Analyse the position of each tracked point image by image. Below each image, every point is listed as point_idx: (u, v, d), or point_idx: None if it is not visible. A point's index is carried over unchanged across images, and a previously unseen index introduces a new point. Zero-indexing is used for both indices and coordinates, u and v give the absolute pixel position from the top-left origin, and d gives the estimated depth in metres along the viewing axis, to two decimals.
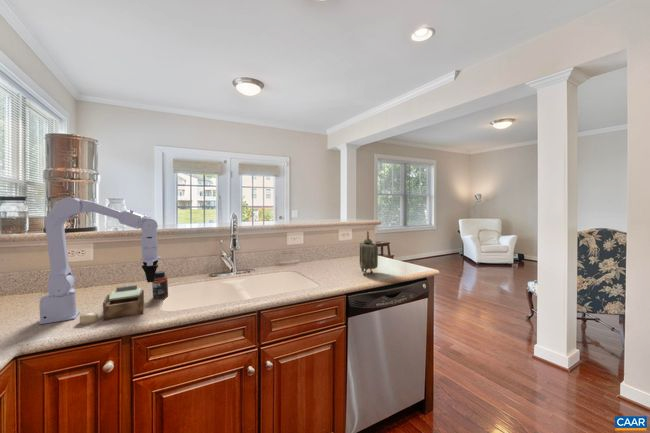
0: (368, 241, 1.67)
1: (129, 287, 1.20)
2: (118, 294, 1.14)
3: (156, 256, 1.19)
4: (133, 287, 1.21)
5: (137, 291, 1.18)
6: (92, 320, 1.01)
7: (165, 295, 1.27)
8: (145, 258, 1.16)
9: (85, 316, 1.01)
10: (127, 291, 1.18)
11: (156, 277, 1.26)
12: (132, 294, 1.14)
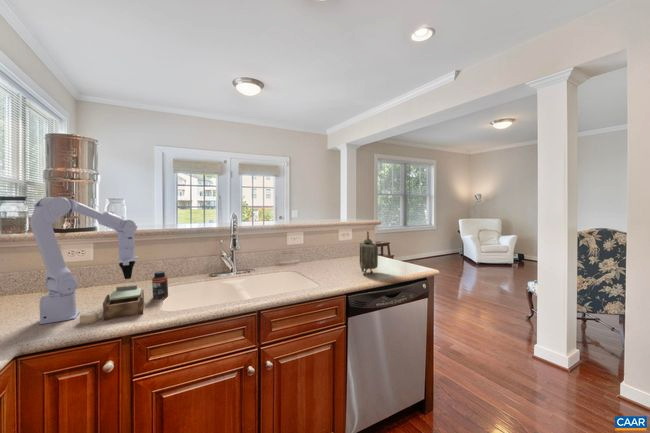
0: (368, 241, 1.67)
1: (129, 287, 1.20)
2: (118, 294, 1.14)
3: (133, 256, 1.24)
4: (133, 287, 1.21)
5: (137, 291, 1.18)
6: (92, 320, 1.01)
7: (165, 295, 1.27)
8: (122, 258, 1.22)
9: (85, 316, 1.01)
10: (127, 291, 1.18)
11: (156, 277, 1.26)
12: (132, 294, 1.14)
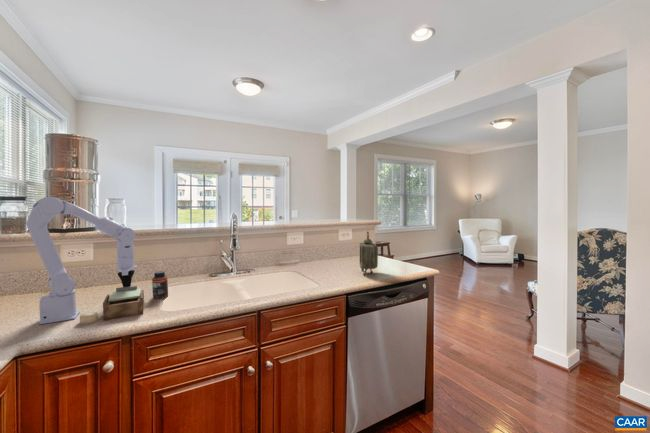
0: (368, 241, 1.67)
1: (129, 288, 1.19)
2: (118, 295, 1.13)
3: (132, 265, 1.20)
4: (133, 288, 1.20)
5: (137, 292, 1.17)
6: (92, 320, 1.01)
7: (165, 295, 1.27)
8: (121, 267, 1.17)
9: (85, 316, 1.01)
10: (127, 292, 1.17)
11: (156, 277, 1.26)
12: (132, 295, 1.13)
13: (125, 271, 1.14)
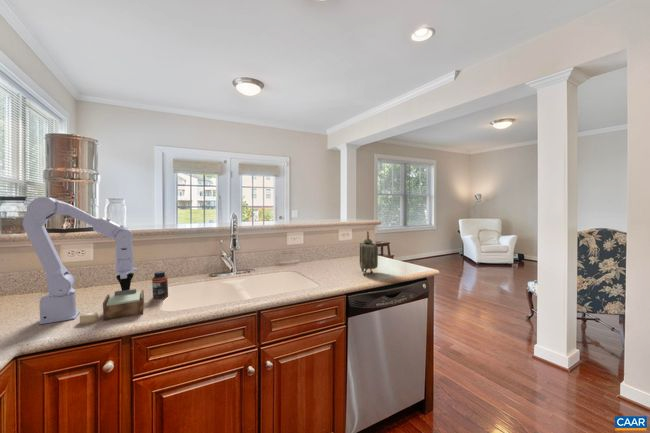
0: (368, 241, 1.67)
1: (128, 291, 1.15)
2: (116, 299, 1.09)
3: (131, 268, 1.15)
4: (132, 291, 1.15)
5: (136, 295, 1.12)
6: (92, 320, 1.01)
7: (165, 295, 1.27)
8: (119, 270, 1.12)
9: (85, 316, 1.01)
10: (126, 295, 1.12)
11: (156, 277, 1.26)
12: (131, 299, 1.09)
13: (124, 274, 1.09)
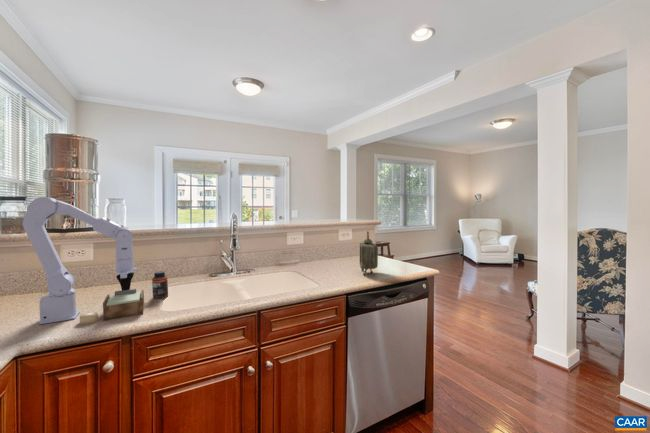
0: (368, 241, 1.67)
1: (128, 291, 1.15)
2: (116, 298, 1.09)
3: (131, 267, 1.15)
4: (132, 291, 1.15)
5: (136, 295, 1.13)
6: (92, 320, 1.01)
7: (165, 295, 1.27)
8: (119, 270, 1.13)
9: (85, 316, 1.01)
10: (126, 295, 1.13)
11: (156, 277, 1.26)
12: (131, 298, 1.09)
13: (124, 274, 1.10)
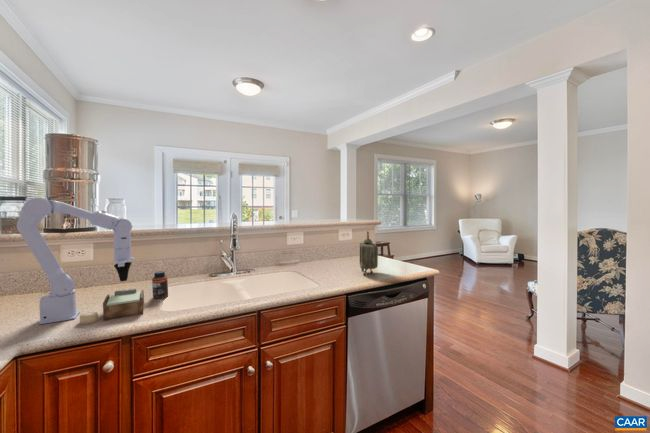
0: (368, 241, 1.67)
1: (128, 291, 1.15)
2: (116, 298, 1.09)
3: (129, 257, 1.18)
4: (132, 291, 1.15)
5: (136, 295, 1.13)
6: (92, 320, 1.01)
7: (165, 295, 1.27)
8: (117, 259, 1.16)
9: (85, 316, 1.01)
10: (126, 295, 1.13)
11: (156, 277, 1.26)
12: (131, 298, 1.09)
13: (121, 262, 1.12)
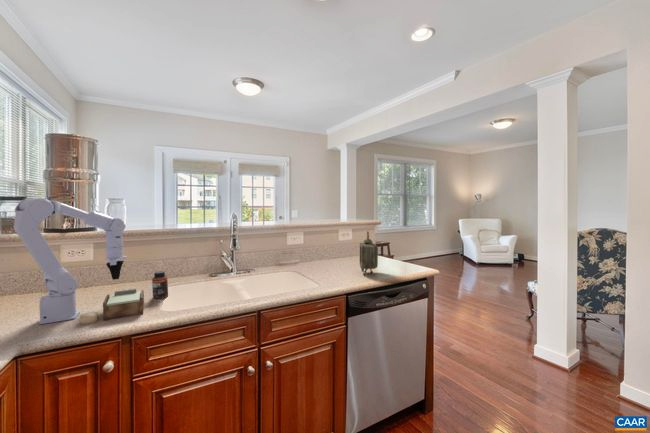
0: (368, 241, 1.67)
1: (128, 291, 1.15)
2: (116, 298, 1.09)
3: (121, 255, 1.21)
4: (132, 291, 1.15)
5: (136, 295, 1.13)
6: (92, 320, 1.01)
7: (165, 295, 1.27)
8: (109, 257, 1.18)
9: (85, 316, 1.01)
10: (126, 295, 1.13)
11: (156, 277, 1.26)
12: (131, 298, 1.09)
13: (113, 261, 1.15)
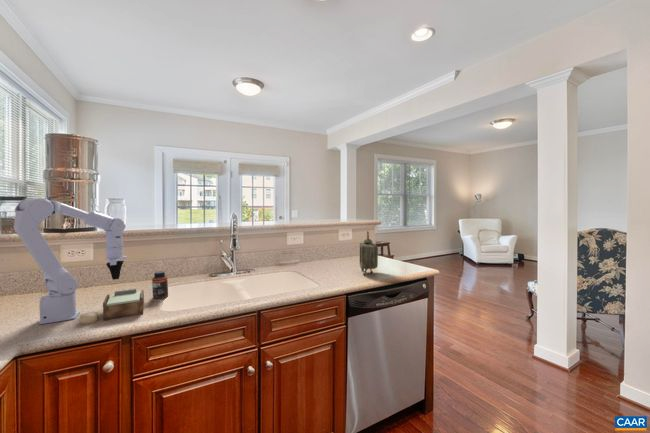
0: (368, 241, 1.67)
1: (128, 291, 1.15)
2: (116, 298, 1.09)
3: (121, 255, 1.21)
4: (132, 291, 1.15)
5: (136, 295, 1.13)
6: (92, 320, 1.01)
7: (165, 295, 1.27)
8: (109, 257, 1.18)
9: (85, 316, 1.01)
10: (126, 295, 1.13)
11: (156, 277, 1.26)
12: (131, 298, 1.09)
13: (113, 261, 1.15)
